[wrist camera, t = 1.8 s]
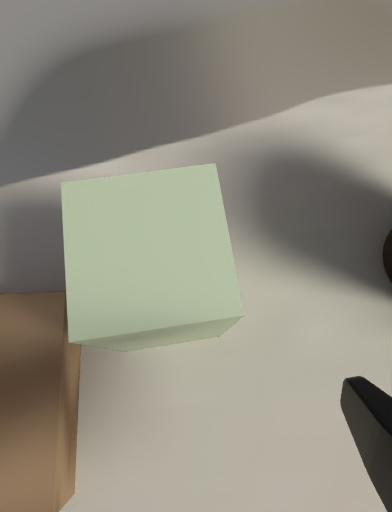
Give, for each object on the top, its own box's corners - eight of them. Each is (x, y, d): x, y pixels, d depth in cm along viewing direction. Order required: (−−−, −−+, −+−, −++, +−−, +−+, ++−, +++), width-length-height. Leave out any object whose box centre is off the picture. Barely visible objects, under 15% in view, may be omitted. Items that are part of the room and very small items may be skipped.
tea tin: (219, 336, 21) (244, 315, 11) (125, 351, 21) (69, 342, 11) (204, 248, 22) (215, 162, 13) (116, 260, 22) (60, 182, 12)
